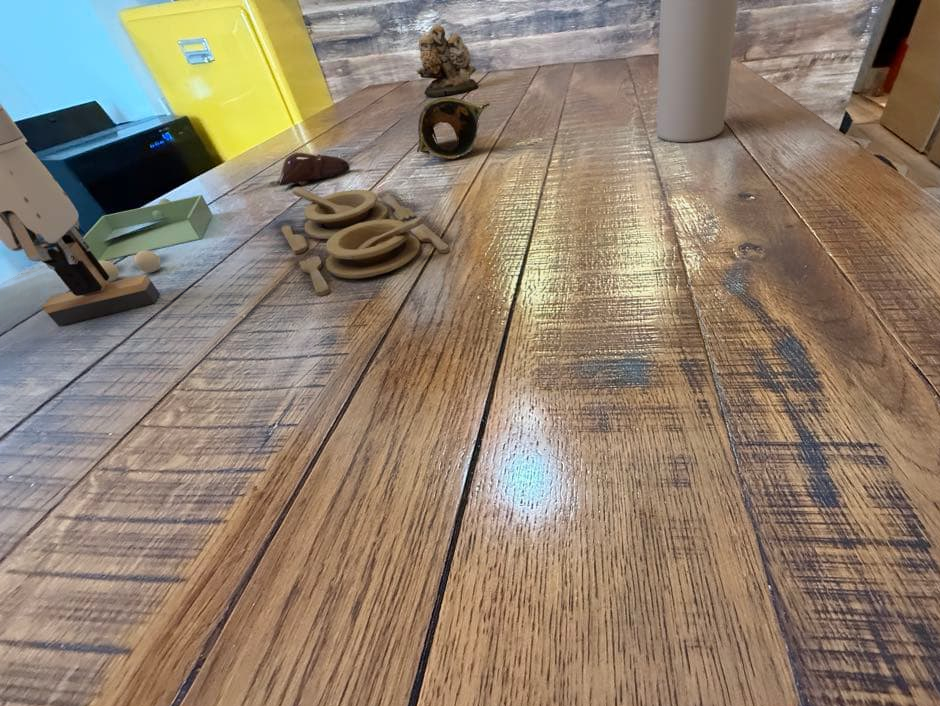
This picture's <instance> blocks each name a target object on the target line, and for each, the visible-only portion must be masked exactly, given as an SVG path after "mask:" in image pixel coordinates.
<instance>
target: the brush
mask: <svg viewBox="0 0 940 706" xmlns="http://www.w3.org/2000/svg"><path fill="white" fill-rule="evenodd" d="M66 245H67V247H68V248H69V249H70V251H71V252H72V253H73V255H74V256H75V257H76V259H77V261H83V263H84V264H85V265H86V266H87V268H88V269H89V270H90V272H91V273H92V274H93V276H94V277H95V278H96V280H97V281H98V282H99V283H100V285H101V286H102V289H101V290H100V291H98V292H93V293H89V294H85V295H80V296H76V295H74V294H73V293H72V292H71V291H68V292H64V293H60V294H59V293H58V294H55V295H51V296H49V298H48V299H47V300H46V301H45V302H44V303H43V305H42V306H41V308H42V309H43V310H44V312H46V314H48V316H49V317H50V318H51V319H52V321H53V322H54V323H55V324H56V325H57V326H58V327H61V326H65V325H69V324H74V323H77V322H82V321H85V320H86V321H87V320H90V319H94V318H99V317H103V316H106V315H111V314H114V313H119V312H123V311H127V310H131V309H136V308H140V307H144V306H149V305H151V304H152V305H153V304H156V302H157V300H158V298H159V296H160V292H159V290H158V289H157V287H156V286H155V284H154V283H153V282H152V280H151V278H150V277H149V275H148V274H147V273H146V274H142V275H137V276H132V277H129V278H124V279H119V280H115V281H113V282H106V281H105V279H104V278H103V277H102V275H101V274H100V273H99V271H98V270H97V269H96V267H95V266H94V265H93V263H92V262H91V261H90V259H89V258H88V257H87V255H86V254H85V253H84V251H83V250H82V249H81V247H80V246H79V245H78V243H77V242H73V243H68V244H66ZM53 249H55V250H57V251H59V250H58V249H57V247H56V246H54V247H53ZM59 252H60V251H59Z"/></svg>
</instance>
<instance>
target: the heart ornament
mask: <svg viewBox="0 0 940 706" xmlns="http://www.w3.org/2000/svg"><path fill="white" fill-rule="evenodd" d="M350 169H351V166H350V164H349V163H348V161H347V160H345V159H343V158H341V157H338V156H332V155H326V154H317V155H316V154H312V153H307V152H299V151H298V152H293V153H291V154H289V155H288V156H287V157H286V158H285V159H284V161H283V164H282V168H281V172H280V176H279V177H280V178H279V186H281V187H282V186H288V185H291V184H295V183H297V184H299V185H301V186H303V185H306V184H307V183H308V182H309V181H312V180H313V181H316V180H318V179H319V180H320V179H325V178H329V177H330V178H331V177H335V176H339V175H342V174H345V173H347V172H349V171H350Z"/></svg>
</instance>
